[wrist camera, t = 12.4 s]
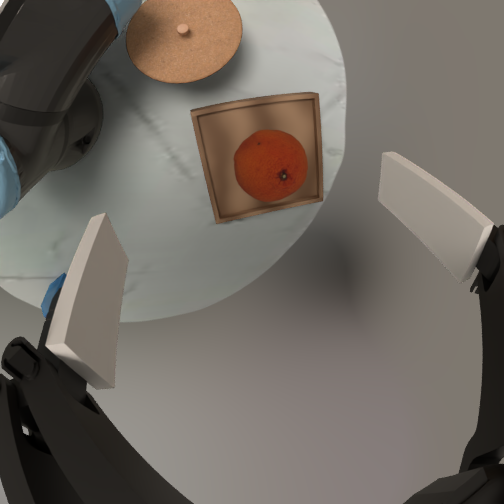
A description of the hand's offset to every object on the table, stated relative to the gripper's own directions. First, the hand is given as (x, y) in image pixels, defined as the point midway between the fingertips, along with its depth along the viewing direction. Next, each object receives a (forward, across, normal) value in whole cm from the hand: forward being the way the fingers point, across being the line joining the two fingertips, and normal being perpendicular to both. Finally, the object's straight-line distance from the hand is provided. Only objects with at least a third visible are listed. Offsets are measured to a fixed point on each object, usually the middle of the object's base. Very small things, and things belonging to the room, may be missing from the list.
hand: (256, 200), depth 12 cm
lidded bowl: (+30, -1, +11) cm, 32 cm away
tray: (+29, +6, -7) cm, 31 cm away
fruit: (+24, +6, -7) cm, 25 cm away
